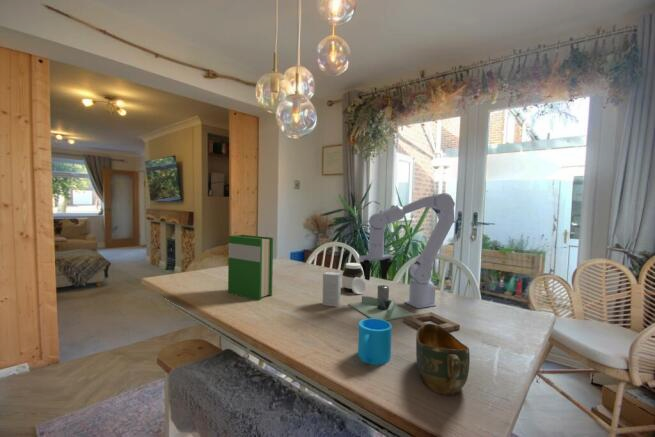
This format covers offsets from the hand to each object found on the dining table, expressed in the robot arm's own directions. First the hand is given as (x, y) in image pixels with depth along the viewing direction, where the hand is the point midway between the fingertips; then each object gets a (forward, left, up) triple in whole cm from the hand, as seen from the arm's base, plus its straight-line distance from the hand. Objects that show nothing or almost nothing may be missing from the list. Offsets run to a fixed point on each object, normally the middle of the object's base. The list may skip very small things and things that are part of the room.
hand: (375, 278), depth 119 cm
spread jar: (-1, -17, -10) cm, 20 cm away
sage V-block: (+3, +8, -9) cm, 13 cm away
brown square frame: (-4, +26, -9) cm, 28 cm away
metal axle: (+2, +8, -9) cm, 12 cm away
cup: (+17, +50, -10) cm, 53 cm away
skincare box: (+17, -4, -10) cm, 20 cm away
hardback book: (+43, -28, -10) cm, 52 cm away
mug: (+26, +37, -10) cm, 46 cm away
